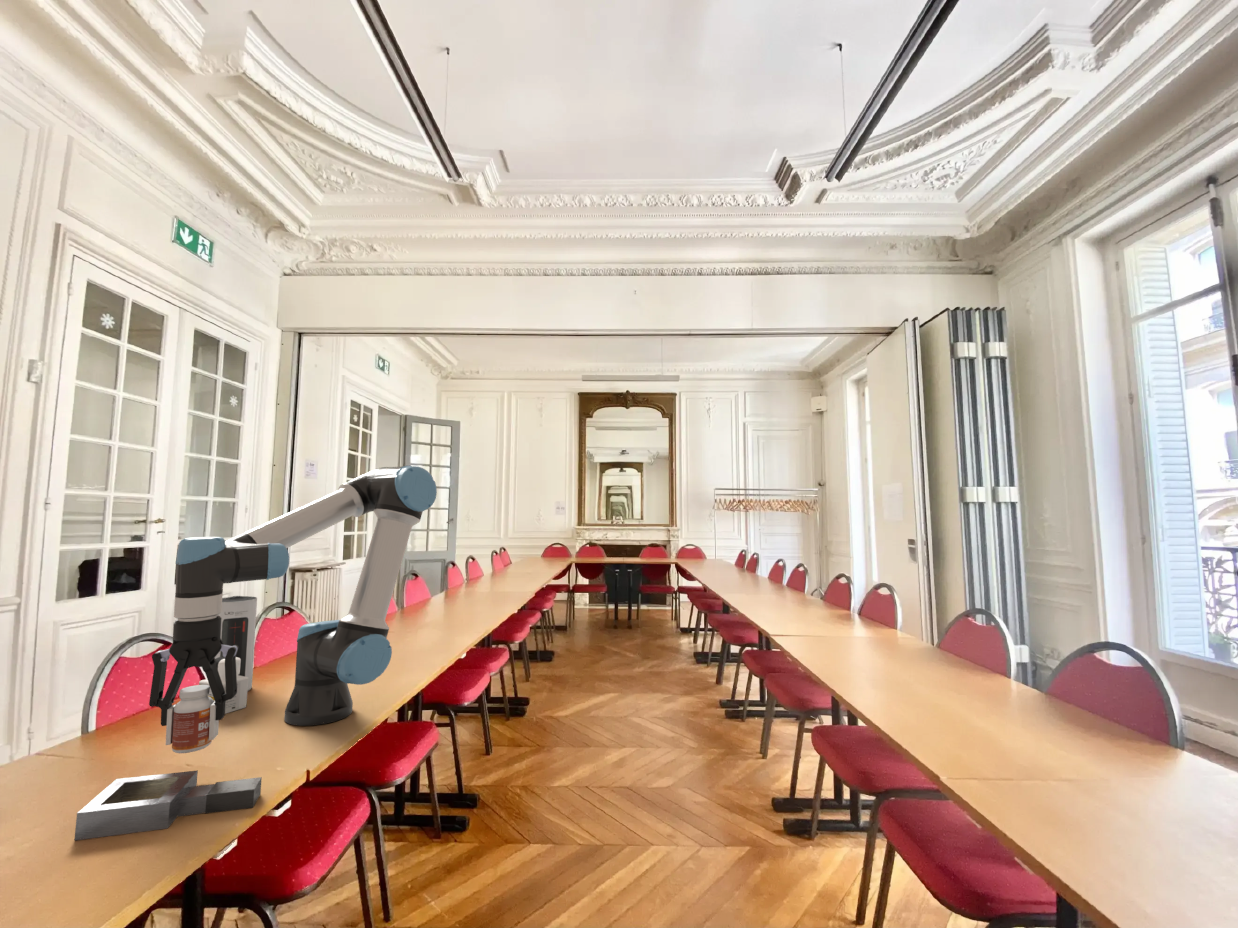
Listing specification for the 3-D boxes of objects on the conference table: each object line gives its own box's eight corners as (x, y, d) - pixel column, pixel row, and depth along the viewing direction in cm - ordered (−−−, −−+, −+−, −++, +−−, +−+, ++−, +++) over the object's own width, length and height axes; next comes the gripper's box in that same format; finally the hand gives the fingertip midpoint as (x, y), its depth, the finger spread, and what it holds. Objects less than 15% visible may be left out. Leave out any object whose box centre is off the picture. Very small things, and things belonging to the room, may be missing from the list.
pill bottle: (202, 752, 107) (205, 692, 108) (164, 756, 106) (167, 694, 107) (217, 739, 113) (220, 682, 114) (181, 742, 112) (184, 684, 113)
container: (196, 712, 144) (200, 659, 145) (226, 703, 151) (230, 652, 153) (216, 717, 141) (220, 662, 142) (246, 707, 148) (250, 656, 150)
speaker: (202, 698, 155) (209, 600, 157) (211, 687, 164) (218, 595, 166) (248, 694, 159) (255, 598, 161) (254, 684, 168) (261, 593, 171)
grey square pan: (265, 785, 107) (267, 763, 107) (246, 818, 95) (248, 792, 96) (114, 803, 99) (116, 779, 100) (74, 840, 88) (76, 813, 88)
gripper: (260, 610, 118) (255, 726, 116) (147, 616, 112) (140, 738, 110) (249, 617, 111) (244, 740, 109) (128, 624, 105) (121, 754, 103)
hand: (192, 739), depth 110 cm, fingers closed on pill bottle, 6 cm apart
